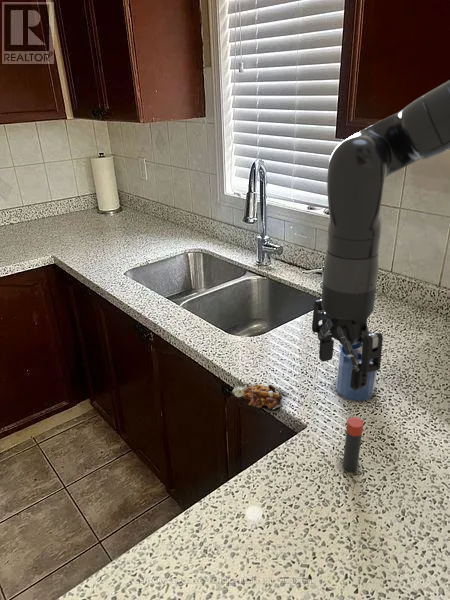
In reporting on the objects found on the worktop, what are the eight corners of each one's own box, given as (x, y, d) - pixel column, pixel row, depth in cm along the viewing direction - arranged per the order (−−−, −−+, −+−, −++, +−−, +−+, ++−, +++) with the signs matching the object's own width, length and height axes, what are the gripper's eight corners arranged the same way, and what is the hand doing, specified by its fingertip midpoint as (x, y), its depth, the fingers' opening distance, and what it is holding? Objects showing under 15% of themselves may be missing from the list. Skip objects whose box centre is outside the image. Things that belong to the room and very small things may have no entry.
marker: (360, 469, 82) (366, 422, 77) (350, 476, 80) (356, 429, 76) (348, 460, 84) (354, 414, 79) (339, 467, 82) (344, 421, 78)
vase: (380, 392, 101) (386, 351, 97) (357, 407, 97) (362, 365, 92) (351, 376, 107) (355, 336, 103) (328, 389, 103) (332, 349, 98)
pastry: (238, 384, 106) (237, 371, 104) (287, 395, 102) (287, 382, 100) (226, 402, 100) (226, 389, 99) (278, 414, 96) (278, 401, 94)
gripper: (405, 294, 60) (390, 392, 67) (341, 260, 72) (334, 346, 79) (359, 305, 57) (348, 405, 64) (301, 268, 69) (297, 356, 76)
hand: (340, 373), depth 72 cm, fingers open, 8 cm apart
